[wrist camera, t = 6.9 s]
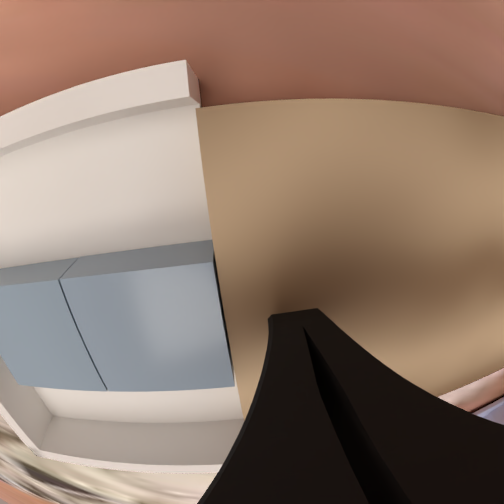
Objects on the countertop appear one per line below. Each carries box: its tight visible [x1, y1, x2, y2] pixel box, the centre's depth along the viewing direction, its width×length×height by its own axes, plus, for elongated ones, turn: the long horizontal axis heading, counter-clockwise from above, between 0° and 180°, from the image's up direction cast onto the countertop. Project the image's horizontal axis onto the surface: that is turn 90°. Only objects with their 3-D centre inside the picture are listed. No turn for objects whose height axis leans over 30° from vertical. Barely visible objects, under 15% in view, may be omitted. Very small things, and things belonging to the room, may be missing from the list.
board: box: [195, 99, 504, 421], centre depth 10 cm, size 12×14×2 cm
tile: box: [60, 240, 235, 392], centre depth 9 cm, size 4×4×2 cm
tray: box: [0, 60, 244, 474], centre depth 9 cm, size 14×11×3 cm
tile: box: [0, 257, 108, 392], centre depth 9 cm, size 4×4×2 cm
